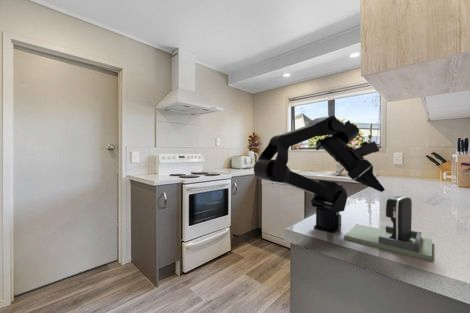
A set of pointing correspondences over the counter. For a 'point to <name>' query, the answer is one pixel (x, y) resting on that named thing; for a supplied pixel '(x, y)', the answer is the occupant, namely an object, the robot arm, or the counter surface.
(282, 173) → the robot arm
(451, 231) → the counter surface
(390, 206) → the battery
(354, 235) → the mounting plate
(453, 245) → the counter surface
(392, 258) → the counter surface
